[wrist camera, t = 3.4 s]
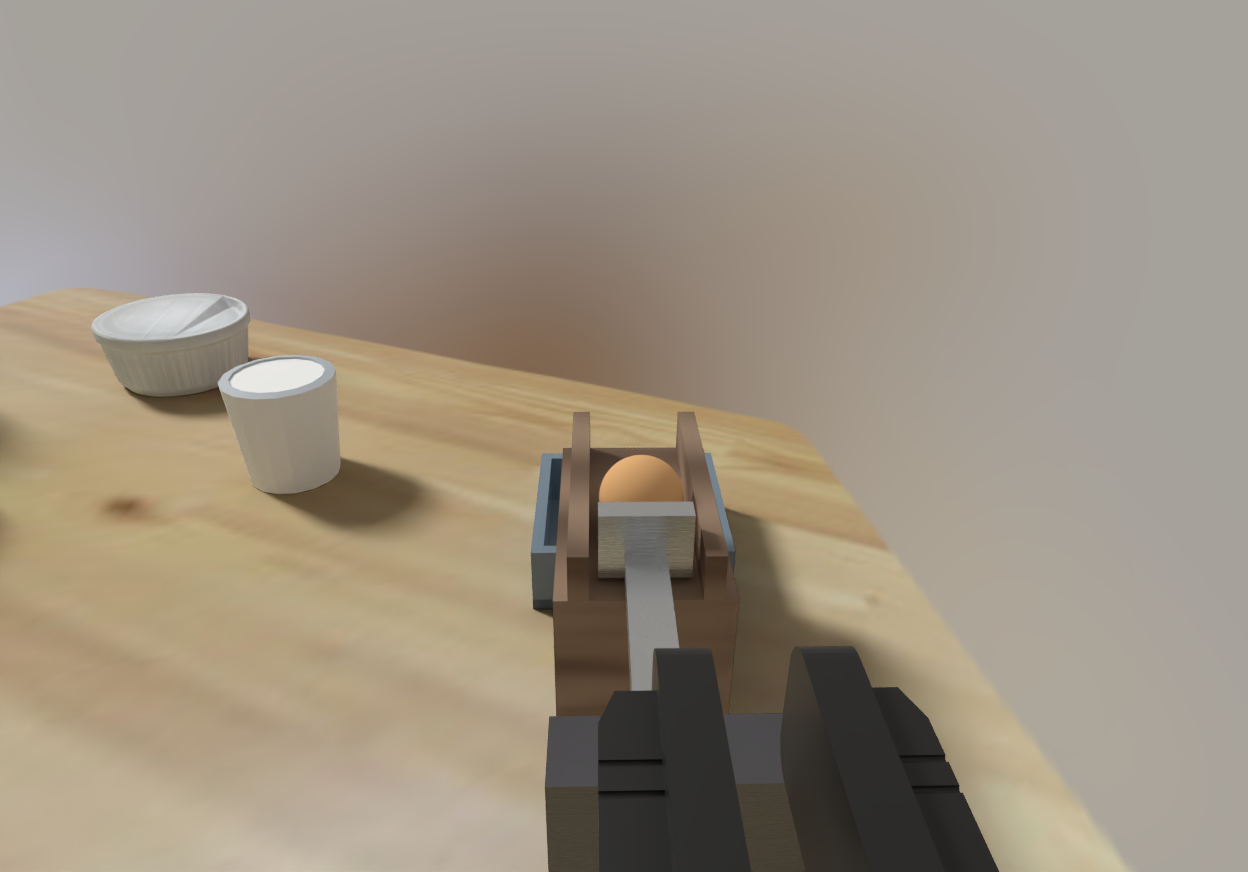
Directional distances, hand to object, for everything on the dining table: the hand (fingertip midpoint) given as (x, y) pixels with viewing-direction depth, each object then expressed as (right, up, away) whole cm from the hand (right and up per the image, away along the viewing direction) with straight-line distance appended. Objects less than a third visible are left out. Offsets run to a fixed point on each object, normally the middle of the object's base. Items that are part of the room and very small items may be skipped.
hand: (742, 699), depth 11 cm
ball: (-1, +1, +24) cm, 24 cm away
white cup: (-23, +1, +45) cm, 50 cm away
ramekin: (-37, +8, +58) cm, 70 cm away
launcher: (-1, -7, +30) cm, 30 cm away
